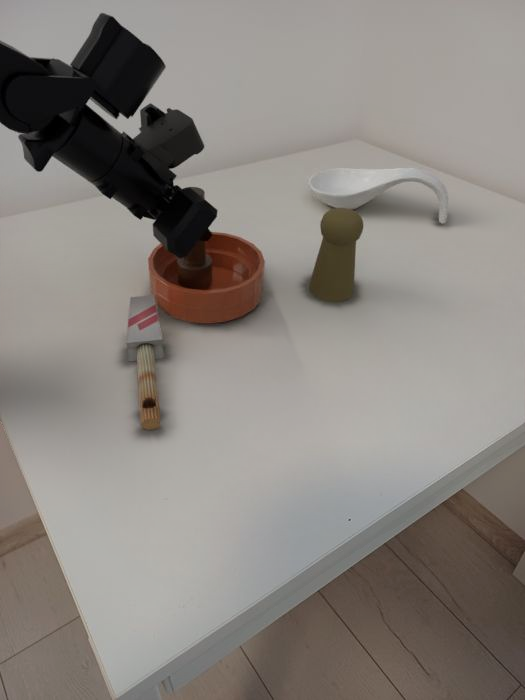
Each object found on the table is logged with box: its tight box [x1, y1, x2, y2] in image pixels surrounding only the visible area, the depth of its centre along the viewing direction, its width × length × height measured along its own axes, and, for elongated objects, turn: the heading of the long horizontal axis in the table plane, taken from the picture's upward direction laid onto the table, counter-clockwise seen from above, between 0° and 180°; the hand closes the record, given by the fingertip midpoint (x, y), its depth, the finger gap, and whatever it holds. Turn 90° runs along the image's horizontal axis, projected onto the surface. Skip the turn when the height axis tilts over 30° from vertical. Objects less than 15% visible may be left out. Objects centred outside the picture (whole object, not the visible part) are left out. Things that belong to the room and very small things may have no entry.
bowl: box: [147, 231, 266, 324], centre depth 65 cm, size 14×14×5 cm
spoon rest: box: [307, 167, 449, 225], centre depth 86 cm, size 24×12×7 cm, turn 74°
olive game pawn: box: [308, 208, 364, 303], centre depth 65 cm, size 6×6×11 cm
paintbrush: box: [126, 294, 165, 431], centre depth 56 cm, size 4×3×20 cm
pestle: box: [177, 186, 212, 289], centre depth 63 cm, size 4×4×12 cm
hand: (203, 232), depth 63 cm, fingers closed on pestle, 3 cm apart
